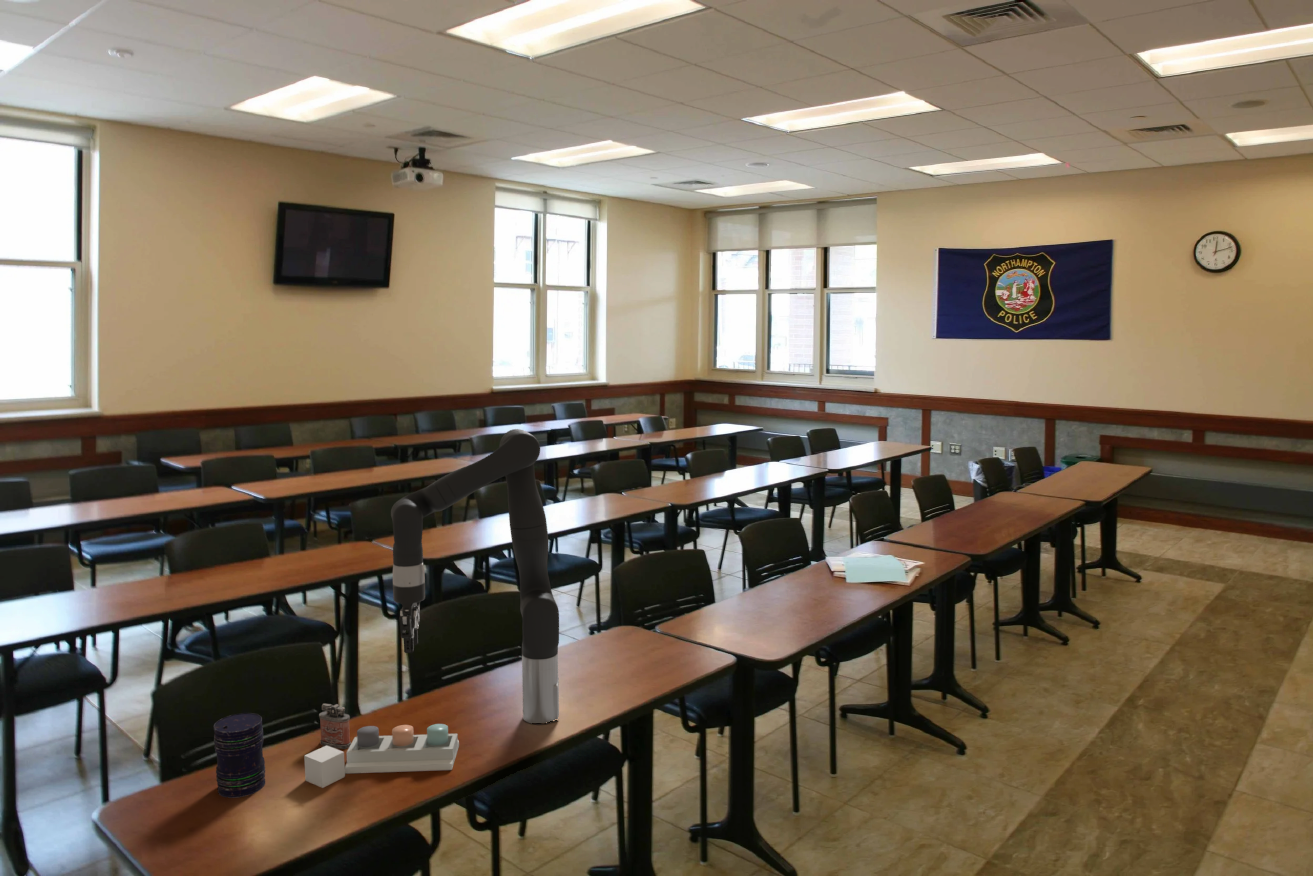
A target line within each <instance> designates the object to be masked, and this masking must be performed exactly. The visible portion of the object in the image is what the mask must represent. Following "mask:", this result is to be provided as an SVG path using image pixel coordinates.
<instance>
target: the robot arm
mask: <svg viewBox="0 0 1313 876" xmlns="http://www.w3.org/2000/svg"><path fill="white" fill-rule="evenodd" d="M498 445H499V446H498V448H497V449H496V450H494V451H492V453H490V454H489V455H487V456H485V457H483V458H481V459H479V460H478V461H475V462H474V463H471V464H468V465H466V466H463V467H461V468H459V469H456V470H454V471H452V472H450V473H448V474H446V475H444V476H442V477H441V478H439V479H438V480H435V481H434V482H432V483H430V484H429V485H428V486H425V487H423V488H421V489H418V490H417V491H414V492H411V493H410V494H408V495H405V496H403V497H402V498H399V500H397V501H396V502H394V504H393V506H392V507H391V510H390V516H391V519H392V529H393V530H392V531H393V545H392V564H393V565H392V591H393V593H392V597H393V601H394V602H395V603H397V604H399V605H400V604H401V605H402V608H401V609H400V610H399V617H398V620H399V628H400V629H399V631H400V638H401V639H403V652H404V653H405V654H413V653H414V648H415V646H417V645H418V644H419V639H418V638H419V635H418V634H419V633H418V629H419V627H420V626H419V625H420V623H421V621H420V619H421V618H420V617H421V616H420V613H421V610H420V608H421V602H422V601H424V600H425V599H426V582H425V581H426V579H425V575H426V574H425V567H424V554H423V553H424V550H423V543H422V542H423V541H422V540H423V529H424V528H423V525H424V524H423V522H424V520H423V519H424V518H425V517H427V516H429V515H431V514H433V513H435V512H442V511H443V510H447V509H448V508H450V507H451V506H453V505H454V504H457V503H458V502H460V501H461V500H463V499H465V498H466V497H469V496H470V495H471V494H473V493H475V492H476V491H478V490H480V489H481V488H483V487H485V486H487V485H489V484H491V483H494V482H495V481H497V480H499V479H501V478H503V477H505V480H506V488H507V505H508V506H507V507H508V517H509V519H508V520H509V528H510V530H509V531H510V537H511V543H512V548H513V553H514V558H515V563H516V564H517V570H518V573H519V589H520V593H519V598H520V599H519V600H520V604H519V605H520V606H519V607H520V610H519V611H520V614H521V617H522V619H521V620H522V643H521V669H522V670H521V673H522V674H521V675H522V679H521V680H522V682H521V683H522V719H523V720H524V721H525V722H526V723H529V724H532V723H546V722H550V721H553V720H555V719H558V717H559V716H560V692H559V691H560V689H559V685H560V684H559V683H560V682H559V645H560V611H559V606H558V604H557V602H556V599H555V598H554V595H553V590H552V588H551V587H552V586H551V583H550V577H549V572H548V557H549V532H548V524H547V517H546V512H545V509H544V504H543V501H542V498H541V495H540V493H539V488H538V486H537V481H536V475H535V463H536V462H537V461H538V459H539V457H540V454H541V445H540V442H539V440H538V439H537V438H536V437H535V436H534V435H533V434H532V433H529V432H528V431H526V430H524V429H520V428H515V429H510V430H508V431H507V432H505V434H504V435H503V436H502V437H501V439H500V441H499V444H498ZM406 631H407V632H406ZM558 720H559V719H558ZM553 722H554V721H553ZM550 723H551V722H550ZM546 724H547V723H546Z"/></svg>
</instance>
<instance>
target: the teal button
mask: <svg viewBox="0 0 1313 876" xmlns="http://www.w3.org/2000/svg"><path fill="white" fill-rule="evenodd" d="M448 734H449V726H448V725H446V724H444V723H435V724H432V725H430V726H429V725H428V727H427V728H426V735H427V742H428V743H429V744H431V745H441V744H444V743H446V742H447V741H448Z"/></svg>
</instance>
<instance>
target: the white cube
mask: <svg viewBox="0 0 1313 876" xmlns="http://www.w3.org/2000/svg"><path fill="white" fill-rule="evenodd" d="M345 766H346V764H345V752H344V751H342V750H340V749H338V748H332V747H330V746H327V745H326V746H324V745H323V746H322V747H321V748H318V749H315V750H313V751H311V752H309V753H307V754H304V777H305V778H304V779H305V781H306V782H308V783H310V784H313V785H314V786H317V787H319V788H322V789H324V788H325V787H327V786H330V785H331V784H333V783H335V782H337V781H339V780H342V779H344V778H346V774H345Z"/></svg>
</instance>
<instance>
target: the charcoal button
mask: <svg viewBox="0 0 1313 876" xmlns="http://www.w3.org/2000/svg"><path fill="white" fill-rule="evenodd" d="M379 736H380V731H379V727H378V726H376V725H367V726H366V725H365V726H362V727H361V728H359V729H357V731H356V737H357V743H358V746H360V747H372V746H375V745H377V744H378V743H379Z"/></svg>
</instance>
